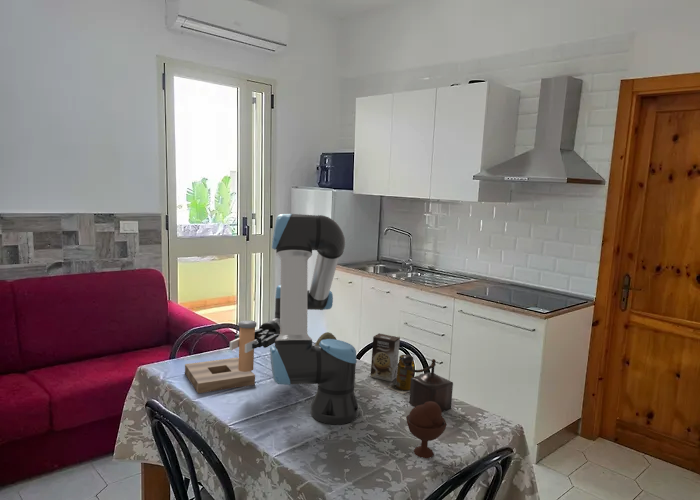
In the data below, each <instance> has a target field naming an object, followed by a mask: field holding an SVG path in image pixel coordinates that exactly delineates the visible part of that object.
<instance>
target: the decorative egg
mask: <svg viewBox="0 0 700 500" xmlns="http://www.w3.org/2000/svg"><path fill="white" fill-rule="evenodd" d="M325 339H335V340H338V339H337V337H336V336H335V335H334V334H333V333H332V332H330V331H329V332H324V333H322V334H321V335H320V336H319V337H318V339H317V340H316V342H315V344H314V346H319V343H320V341H321V340H325Z"/></svg>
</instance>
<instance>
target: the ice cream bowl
mask: <svg viewBox="0 0 700 500" xmlns="http://www.w3.org/2000/svg"><path fill="white" fill-rule="evenodd" d="M442 413H443V412H442V411H441V408H440V406H439V405H438V404H437V403H436V402H432V401H429V402H425V403H424V404H423V405H422V404H421V405H418V406H416V407H414V406H413V408H412V409H410V412H409V414H408V415H407V416H405V417H406V424H407V427H408V429H409V432H410V434H411V435H412V436H414V438H417V439H419V440H420V441H421V442H420V445H419V446H416V447H415V448H413V449H414V450H413V453H414V455H415V456H417V457H418V458H421V457H423V458H422V459H430V457H431V458H432V457H434V454H435V453H434V451H433V449H432V448H430V447H429V446H428V443H429V442H431V441H434V440H435V441H436V440H437V439H438V438H439V437H440V436H441V435H442V434H443V433H444V432H445V430H446V428H447V423H448V422H446V419H445V418H444V416H443V414H442Z"/></svg>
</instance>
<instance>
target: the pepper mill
mask: <svg viewBox="0 0 700 500" xmlns="http://www.w3.org/2000/svg"><path fill="white" fill-rule="evenodd" d="M404 355H405V356H403V358H402V362H403V363H404V364H405V367H404V368H405V369H406V370H410V371H412V372H414V373H417V374H419V373H420V374H419V375H415V376H413V377H411V386H410V392H409V399H408V404H410V405H411V406H413V408H414V407H416V406H418V405H421V404H422V405H423V404H424V403H425V402H429V401H432V402H436V403H437V404H438V405H439V406H440V408H441V411H442V413H443V412H446V411H447V410H448V411H449V410H450V409H452V400H453V398H452V397H453V391H454V390H453V388H454V382H453V381H451V380H450V379H447V378H445V377H442V376H440V375H438V374H437V373H435V366H436V359H434V358H432V359H431V364H430V365H428V366H427V367H425V368H424V367H423V368H421V369H415V368H414V369H412V368H413V366H412V362H414V360H413V358H414V356H412V355H410V354H404ZM430 369H431V371H430V372H427V371H429V370H430Z"/></svg>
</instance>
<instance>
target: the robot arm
mask: <svg viewBox="0 0 700 500" xmlns="http://www.w3.org/2000/svg"><path fill="white" fill-rule="evenodd" d="M272 234H273V235H272V244H271V249H272V250H275V253H276V256H277V258H279V260H280V284H278V285H277V286H276V288H275V289H276V290H275V298H274V299H275V302H274V303H275V304H274V305H275V310H274V318H273V319H270V320H268V321H265V323H262V324H261V325H260V326H259V328H258V329H255V338H254V340H253V341H251V342H249V343H247V344H245V353H247V352H249V351H251V350H253V349H254V350H255V349H257V348H262V347H263V348H264V349H266V348H268V347H270V348H269V355H270V366H271V372H272V373H271V374H272V378H273V381H274V383H276V384H277V385H288V386H291V385H293V386H294V385H316V384H317V390H316V392H315V395H314V398H313V401H312V403H311V406H310V415H311V417H312V418H313V419H315V420H316V421H318V422H320V423H323V424H328V425H329V424H330V425H345V424H348V423H351V422H352V423H353V422H354V421H355V420H357V418H358V416H359V404H358V402H357V401H358V400H357V397H356V393H355V382H356V381H355V380H356V370H357V369H356V368H357V367H356V364H357V362H358V361H357V350H356V348H355V346H354V345H353V344H351V343H349V342H347V341H344V340H340V339H337V340H335V339H325V340H321V341H320V343H319V346H315V345H314V344H313V338H311V337H310V336H309V334H308V310H309V311H310V310H313V311H314V310H315V311H319V310H320V311H324V310H331V309H332V307H333V302H334V297H333V296H334V295H333V292H332V291H331V288H332V284H333V280H334V276H335V274H336V273H335V272H336V269H337V266H338V263H339V259H340V258H341V257H342V256H343V254H344V251H345V247H346V239H345V235H344V232H343V230H342V229H341V227H340V225H339V224H338V222H336V221H335V220H334V219H332V218H331V217H329V216H325V215H322V214H321V215H319V214H318V215H316V214H315V215H314V214H300V213H299V214H298V213H281V214H278V215H277V216H276V219H275V223H274V230H273V233H272ZM313 251H316V252H317V255H316V260H315V265H314V269H313V273H312V274H313V275H312V279H311V283H310V287H309V290H308V260H309V258H311V257H312V256H313ZM273 344H274V345H273ZM271 345H272V346H271ZM237 348H239V333H237V334H235V335H234V339H233V340H231V341H229V351H233V350H235V349H237Z"/></svg>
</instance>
